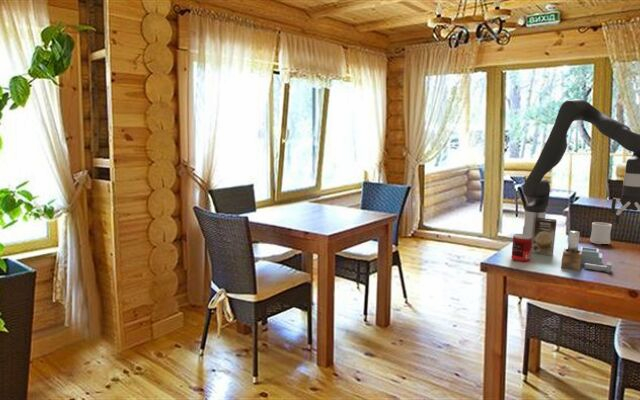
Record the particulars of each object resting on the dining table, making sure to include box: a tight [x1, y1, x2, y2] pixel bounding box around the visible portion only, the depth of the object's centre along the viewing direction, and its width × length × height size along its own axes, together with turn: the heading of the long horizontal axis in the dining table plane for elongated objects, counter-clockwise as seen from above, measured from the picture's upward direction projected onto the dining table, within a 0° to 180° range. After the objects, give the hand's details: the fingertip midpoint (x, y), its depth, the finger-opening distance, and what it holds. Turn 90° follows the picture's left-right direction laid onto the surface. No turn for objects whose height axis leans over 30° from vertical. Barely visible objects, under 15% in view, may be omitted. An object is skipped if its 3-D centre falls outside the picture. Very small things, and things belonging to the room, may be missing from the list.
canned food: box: [511, 233, 532, 263], centre depth 217 cm, size 8×8×11 cm
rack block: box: [579, 246, 603, 266], centre depth 214 cm, size 10×8×6 cm
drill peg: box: [567, 230, 580, 253], centre depth 208 cm, size 4×4×10 cm
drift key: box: [584, 261, 613, 274], centre depth 204 cm, size 10×4×3 cm, turn 60°
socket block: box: [560, 247, 582, 272], centre depth 209 cm, size 7×10×7 cm
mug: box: [589, 221, 613, 245], centre depth 252 cm, size 12×9×10 cm
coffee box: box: [531, 217, 558, 256], centre depth 229 cm, size 9×6×16 cm
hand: (629, 225), depth 197 cm, fingers open, 7 cm apart
